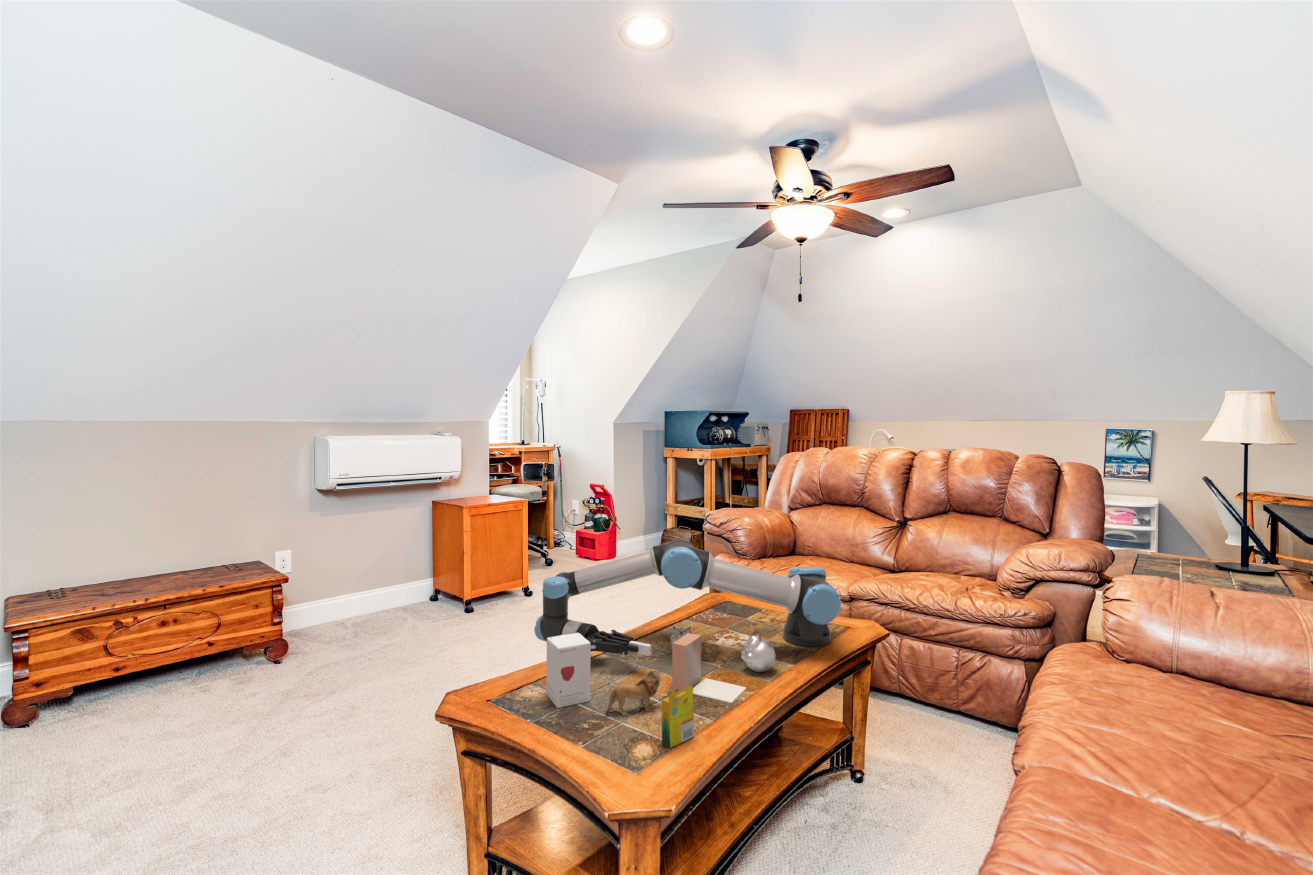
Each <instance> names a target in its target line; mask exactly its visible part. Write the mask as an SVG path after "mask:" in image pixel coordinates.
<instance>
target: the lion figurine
mask: <svg viewBox="0 0 1313 875" xmlns="http://www.w3.org/2000/svg"><path fill="white" fill-rule="evenodd" d="M660 682H661V676H660V671H659V670H657V669H654V668H649V670H647V671H645V675H644V676H643V677H641V680H639V682H637V683H635V684H624V683H621V684H617V685H616V686H615V687H614V688H613V689H612V690H611V693H610V695H609V700H608V707H607V709H606V711H605V713H604V715H605V716H606V715H608V714H609V713H610V712H612V713H613V712H614V711H615V708H613V705H614V704H615V703H616V702H618V710H619V712H620V713H621V715H622V716H624V717H625V716H628V712H627V711H624V705H625V703H626V699H628V700H630V701H638V700H639V706H640V708H644V709H645V711H646V712H647V713H651V711H652V709H651V707H650V700H651V698H652V697H654V696H655V695H656V694H657V692H658V689H659V687H660Z"/></svg>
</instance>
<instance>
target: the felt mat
mask: <svg viewBox="0 0 1313 875" xmlns="http://www.w3.org/2000/svg"><path fill="white" fill-rule="evenodd" d="M745 691H747V687H746V686H742V685H738V684H734V683H729V682H725V681H720V680H715V679H711V678H706V677H705V678H703V679H701V680H700V681H699V682H698V684H695V685H694V686H693V696H694V695H695V696H699V697H703V698H707V699H711V700H716V701H719V702H723V703H728V704H733V703H734V702H735V701H736V700H737V699H738V698H739V697H740V696H741V695H742V694H743V693H744V692H745Z"/></svg>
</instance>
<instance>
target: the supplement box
mask: <svg viewBox="0 0 1313 875" xmlns="http://www.w3.org/2000/svg"><path fill="white" fill-rule="evenodd" d="M591 652H592V651H591V643H590V642H589V641H588V640H587V639H585V638H584V637H583V636H582V635H581V634H580V633H573V634H567V635H560V636H555V637H548V638H547V642H546V689H545V690H546V693H545V694H546V696H547V698H549V699H550V701H551V702H552V704H554V706H555V707H556V708H557V709H559V708H564V706H565V707H569V706H575V705H578V704H582V703H583V704H584V703H588V702H590V701H591V657H592V656H591Z"/></svg>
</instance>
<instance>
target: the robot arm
mask: <svg viewBox="0 0 1313 875" xmlns="http://www.w3.org/2000/svg"><path fill="white" fill-rule="evenodd" d="M653 575H657V576H658V577H662V576H663V578H664V579H665V581H666V582H667V583H668V584H670V586H672V587H674V588H676V589H681V590H683V589H689V588H692V589H696V590H698V591H702V590H704V589H705V588H712V589H716V590H720V591H724V592H728V593H731V594H735V595H738V596H743V597H747V598H751V599H754V600H758V601H762V602H765V603H766V602H767V603H771V604H773V605H777V606H781V607H784V608H785V610H786V611H787V617H786V620H785V623H784V626H783V630H782V638H783V640H785V641H786V642H788V643H791V644H794V645H796V646H803V647H821V646H822V647H823V646H826V645H828V644H829V643H831V642H832V632H831V629H830V626H829V623H831V622H833V621H834V620H835V619H836V618H837V617H838V615H839V613H840V611H841V606H842V605H841V604H842V602H841V597H840V595H839V594H838V591H837V590H836V589H835V588H834V587H833V586H832V585H831V584H829V582H827V572H826V569H824V568H823V567H817V566H795V567H791V568H789V570H788V575H787V576H784V575H780V574H775V573H773V572H769V571H765V570H760V569H756V568H752V567H749V566H745V565H741V564H737V563H733V562H730V561H726V560H722V559H719V558H715V557H714V555H712V553H711V552H710V551H708V550H703V549H699V548H696V547H695V546H694V544H693V543H691V542H690V541H688V540H685V539H674V540H671V541H668V542H664V543H660V544H658V545H654V546H651V548H650V550H647V551H644V552H640V553H637V554H633V555H630V556H626V557H622V558H618V559H614V560H611V561H607V562H603V563H599V564H597V565H596V564H595V565H592V566H589V567H585V568H581V569H577V570H574V571H571V572H568V571H562V572H559V573H557V575H554V576H550V577H547V578H546V577H545V579H544V580H543V582H542V589H541V590H542V614H541V615H540V616H539V617H538V618H537V620H536V621H535V626H534V635H535V636H536V638H537V639H538V640H540V641H543V642H546V643H547V638H548V637H555V636H560V635H567V634H573V633H580V634H581V635H582V636H583V637H584V638H585V639H587V640H588V641H589V642H590V643H591V652H599V653H610V654H618V655H622V654H623V653H624V656H627V655H628V654H629V653H633V654H637V655H642V656H646V657H650V656H651V655H652V644H650V643H644V642H640V641H635V637H634V636H630V635H627V634H624V633H622V632H618V631H617V630H616V629H610V630H611V632H606V631H605V630H599V629H598V627H597V625H595V624H592V623H586V622H582V621H578V620H572V619H569V616H568V615H569V611H568V610H569V608H568V607H569V599H570V597H575V596H578V595H581V594H585V593H588V592H589V593H590V592H591V591H592V592H593V591H596V590H600V589H604V588H607V587H612V586H615V585H619V584H623V583H627V582H631V581H634V580H638V579H642V578H645V577H649V576H653Z"/></svg>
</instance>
